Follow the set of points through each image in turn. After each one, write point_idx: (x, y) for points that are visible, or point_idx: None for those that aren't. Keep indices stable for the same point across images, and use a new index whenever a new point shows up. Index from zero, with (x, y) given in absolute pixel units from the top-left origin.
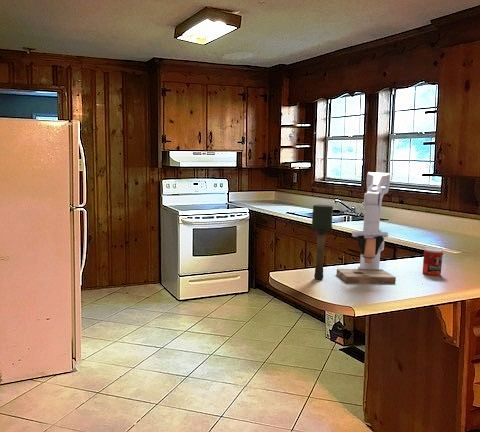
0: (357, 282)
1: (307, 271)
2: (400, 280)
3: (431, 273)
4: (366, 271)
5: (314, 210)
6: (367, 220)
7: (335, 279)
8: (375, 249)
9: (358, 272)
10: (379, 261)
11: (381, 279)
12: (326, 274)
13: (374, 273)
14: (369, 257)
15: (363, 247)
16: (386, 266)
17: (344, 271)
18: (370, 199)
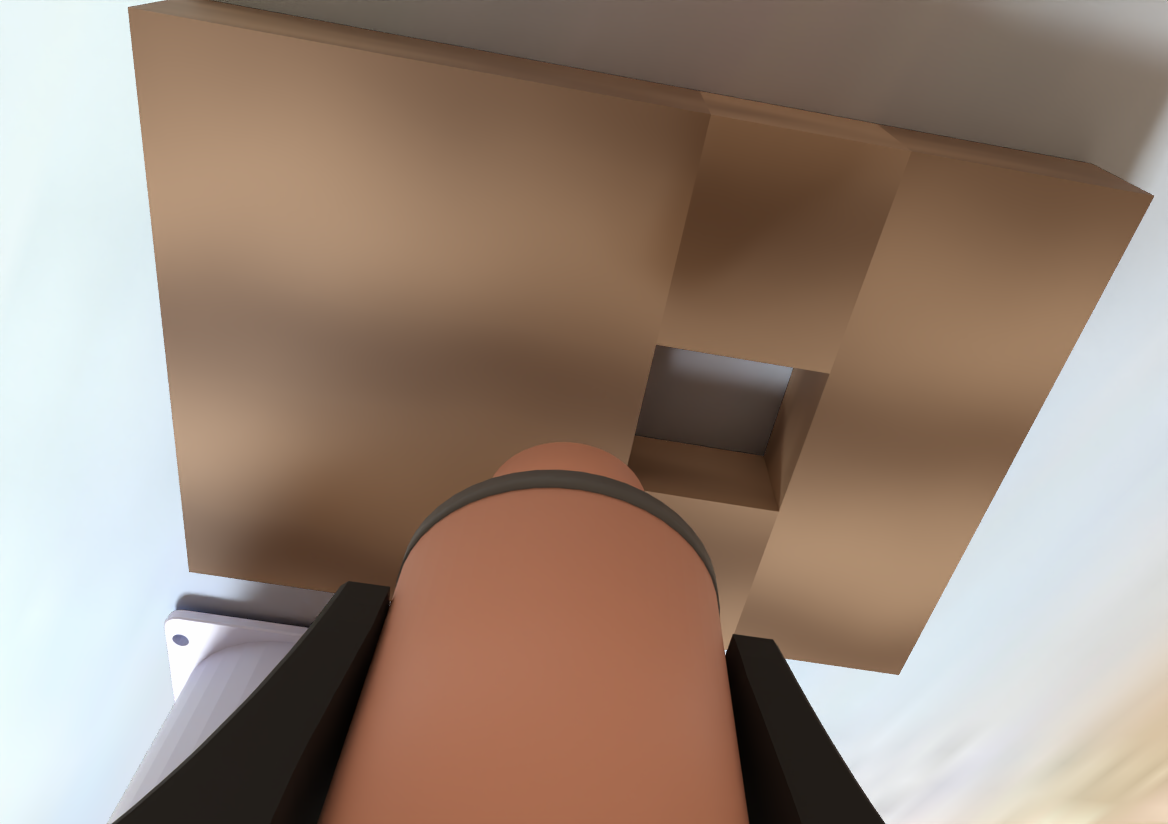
0: (915, 132)
1: (1128, 765)
2: (18, 198)
3: None
4: None
5: None
6: None
7: (1092, 403)
8: (360, 712)
9: (672, 489)
10: (136, 775)
11: (455, 59)
12: (1002, 635)
13: (448, 362)
14: (623, 495)
15: (833, 812)
16: (18, 813)
17: (897, 540)
18: None
